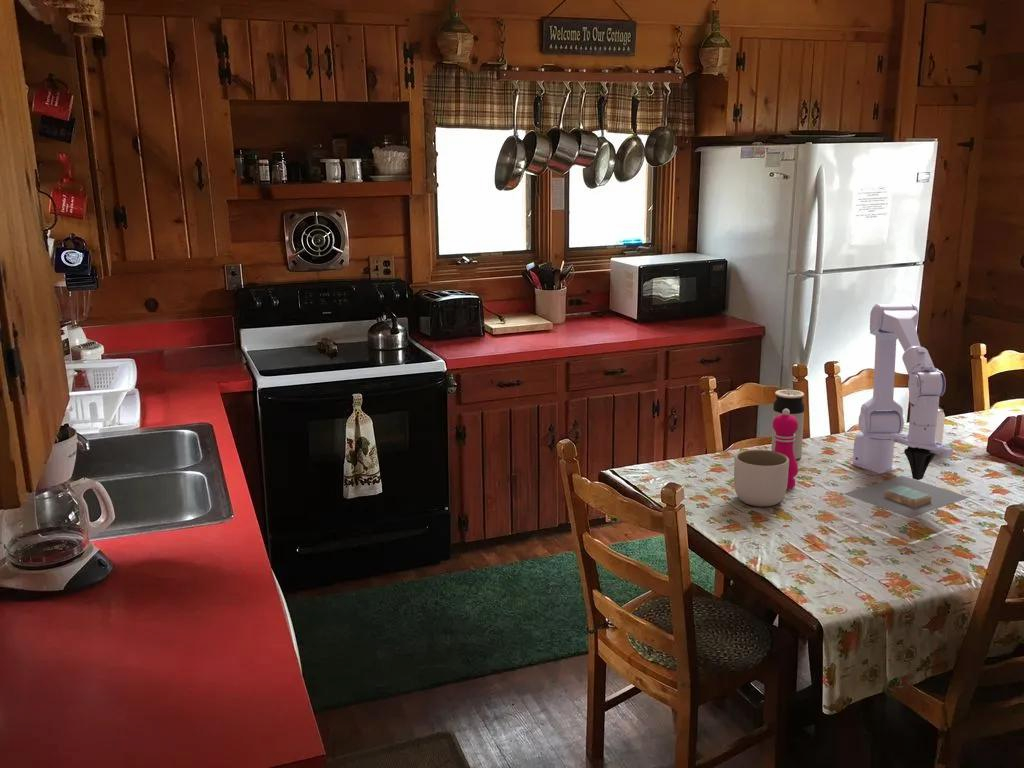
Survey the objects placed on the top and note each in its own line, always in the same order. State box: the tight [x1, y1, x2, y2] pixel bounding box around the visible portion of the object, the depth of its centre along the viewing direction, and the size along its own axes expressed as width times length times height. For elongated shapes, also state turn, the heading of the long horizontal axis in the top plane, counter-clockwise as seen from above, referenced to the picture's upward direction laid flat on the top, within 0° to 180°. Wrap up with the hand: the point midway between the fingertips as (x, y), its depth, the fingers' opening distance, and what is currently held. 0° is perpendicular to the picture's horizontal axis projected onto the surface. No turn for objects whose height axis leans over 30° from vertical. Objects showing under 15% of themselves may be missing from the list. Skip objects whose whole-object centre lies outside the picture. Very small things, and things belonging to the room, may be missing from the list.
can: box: [935, 407, 946, 444], centre depth 243 cm, size 6×6×12 cm
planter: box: [733, 448, 789, 508], centre depth 211 cm, size 12×12×11 cm
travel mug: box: [770, 389, 805, 460], centre depth 240 cm, size 8×8×18 cm
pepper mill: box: [772, 409, 799, 489], centre depth 219 cm, size 7×7×20 cm
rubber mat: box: [843, 475, 970, 519], centre depth 212 cm, size 18×22×1 cm
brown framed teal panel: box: [885, 486, 931, 508], centre depth 209 cm, size 2×6×8 cm
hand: (917, 478), depth 206 cm, fingers closed
